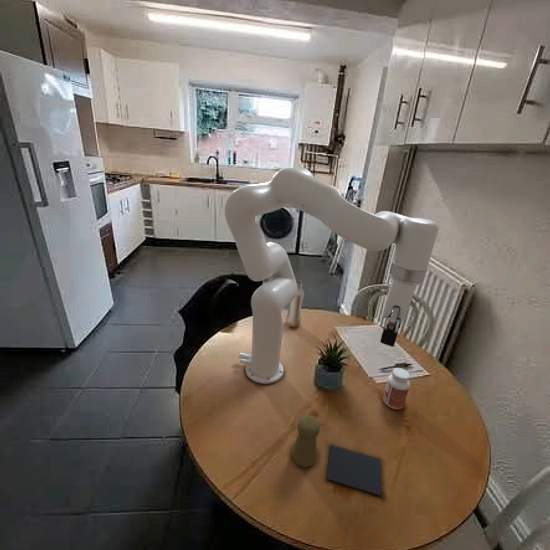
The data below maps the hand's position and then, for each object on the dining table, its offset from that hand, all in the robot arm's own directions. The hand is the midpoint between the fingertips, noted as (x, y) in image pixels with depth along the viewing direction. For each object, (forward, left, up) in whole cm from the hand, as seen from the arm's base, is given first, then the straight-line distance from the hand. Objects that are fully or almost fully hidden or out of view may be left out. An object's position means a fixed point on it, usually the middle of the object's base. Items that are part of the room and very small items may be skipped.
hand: (390, 334), depth 78 cm
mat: (-4, -18, -27) cm, 33 cm away
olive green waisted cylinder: (-16, -18, -28) cm, 37 cm away
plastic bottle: (-31, +40, -28) cm, 58 cm away
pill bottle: (+7, +8, -28) cm, 30 cm away
